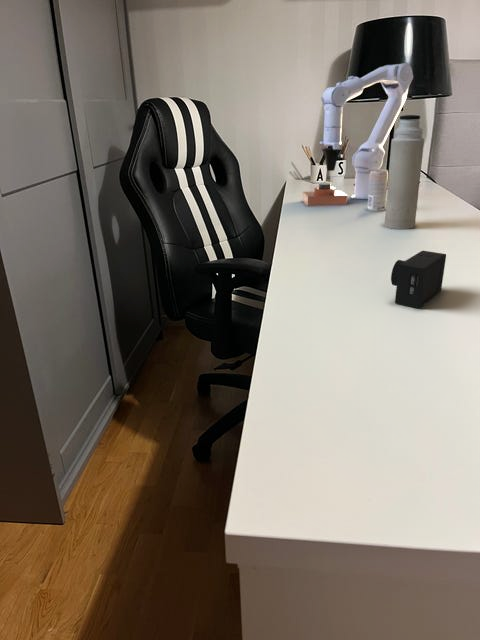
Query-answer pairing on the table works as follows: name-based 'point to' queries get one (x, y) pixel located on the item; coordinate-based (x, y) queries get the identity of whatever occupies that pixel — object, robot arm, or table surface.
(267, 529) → the table surface
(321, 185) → the lid button
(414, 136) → the thermos bottle
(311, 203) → the orange stepped block
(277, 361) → the table surface
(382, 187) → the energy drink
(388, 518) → the table surface
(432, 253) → the digital camera
